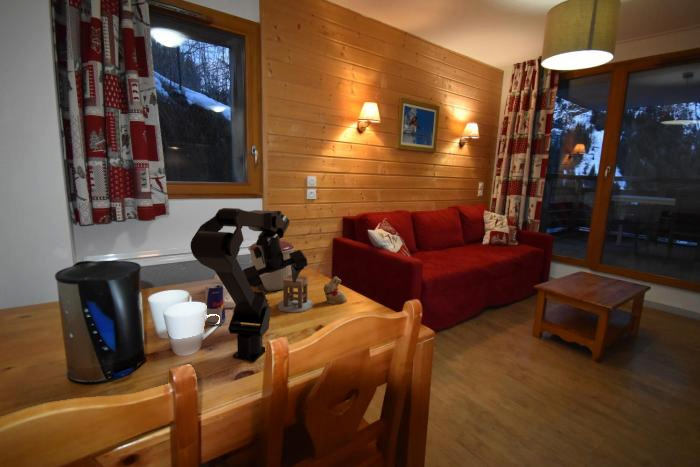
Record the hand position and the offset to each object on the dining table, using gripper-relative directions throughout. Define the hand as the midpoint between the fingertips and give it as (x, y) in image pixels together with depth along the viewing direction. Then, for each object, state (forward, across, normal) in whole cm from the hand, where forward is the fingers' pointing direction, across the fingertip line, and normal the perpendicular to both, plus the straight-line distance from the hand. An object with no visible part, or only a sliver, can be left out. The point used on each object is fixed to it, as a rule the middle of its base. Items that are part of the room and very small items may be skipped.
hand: (280, 287), depth 106 cm
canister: (+21, -1, -23) cm, 31 cm away
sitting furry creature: (+12, +18, -14) cm, 25 cm away
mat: (+13, -4, -3) cm, 14 cm away
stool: (+13, -4, -3) cm, 14 cm away
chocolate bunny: (+16, -18, +1) cm, 24 cm away
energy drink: (+6, +21, -2) cm, 22 cm away
